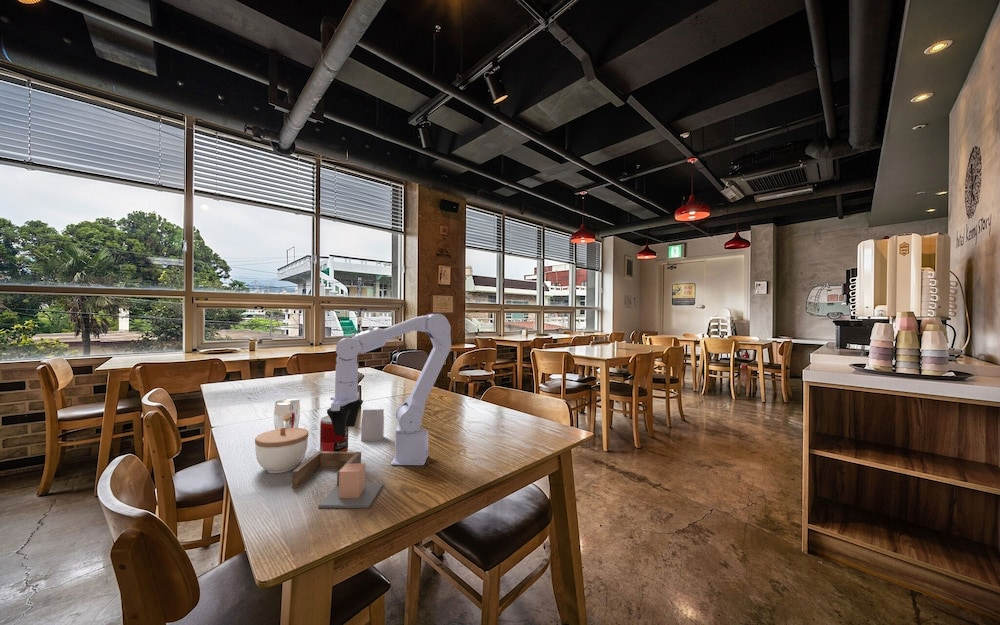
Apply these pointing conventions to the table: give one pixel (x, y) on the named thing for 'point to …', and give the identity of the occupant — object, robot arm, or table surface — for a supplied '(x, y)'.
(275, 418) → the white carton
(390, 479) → the table surface
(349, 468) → the block
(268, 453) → the lidded bowl
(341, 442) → the canned food
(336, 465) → the brown piece
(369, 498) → the coaster
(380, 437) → the grey rectangular block
